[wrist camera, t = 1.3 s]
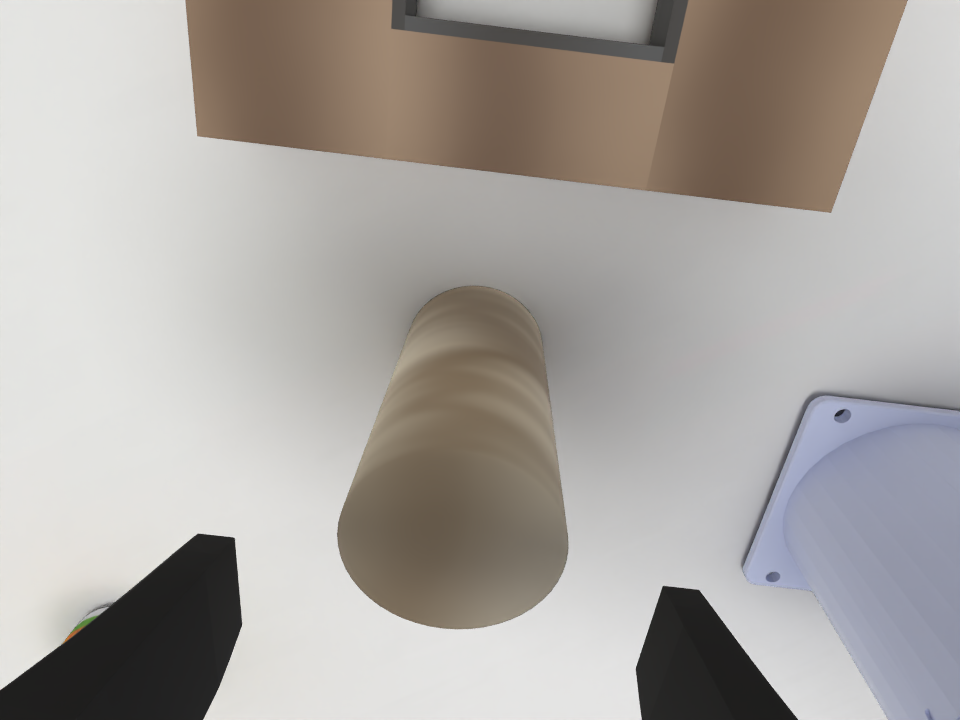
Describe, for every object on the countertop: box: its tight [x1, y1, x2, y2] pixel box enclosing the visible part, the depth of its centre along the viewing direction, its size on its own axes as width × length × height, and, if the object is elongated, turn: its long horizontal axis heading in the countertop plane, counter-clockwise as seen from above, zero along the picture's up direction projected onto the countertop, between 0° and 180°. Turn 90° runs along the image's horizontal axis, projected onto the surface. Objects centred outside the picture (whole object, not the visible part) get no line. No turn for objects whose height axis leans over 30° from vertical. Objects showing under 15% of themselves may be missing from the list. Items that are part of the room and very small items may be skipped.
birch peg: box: [337, 286, 568, 629], centre depth 16 cm, size 4×4×9 cm
